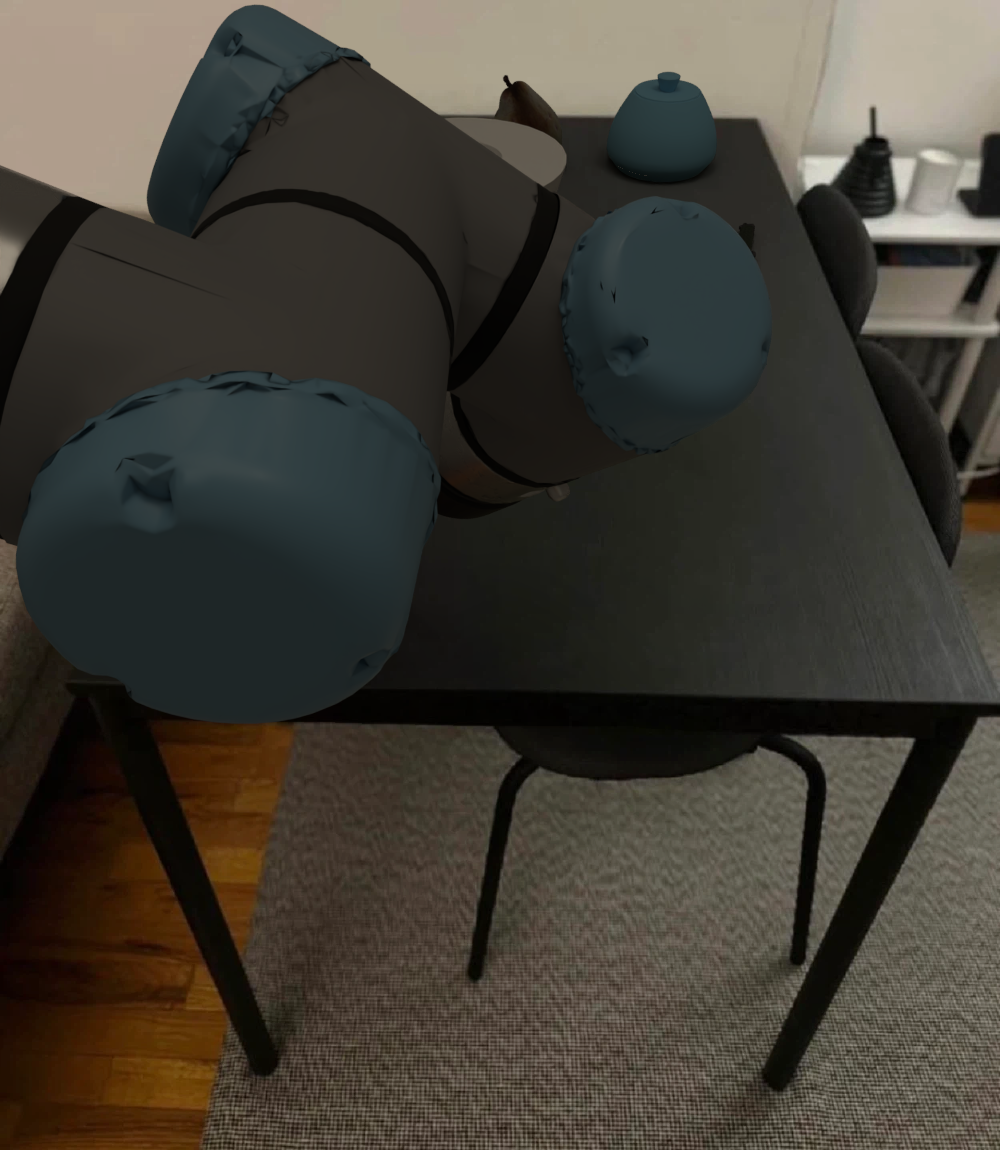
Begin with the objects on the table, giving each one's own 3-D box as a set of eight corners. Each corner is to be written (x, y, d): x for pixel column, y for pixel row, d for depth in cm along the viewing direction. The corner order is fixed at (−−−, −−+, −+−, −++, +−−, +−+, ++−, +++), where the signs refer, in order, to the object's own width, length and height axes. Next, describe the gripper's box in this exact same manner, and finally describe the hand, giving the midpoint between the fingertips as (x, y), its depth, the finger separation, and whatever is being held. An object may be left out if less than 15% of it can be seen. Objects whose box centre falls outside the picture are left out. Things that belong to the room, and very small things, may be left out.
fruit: (481, 160, 132) (478, 68, 124) (540, 148, 135) (542, 57, 127) (512, 187, 126) (512, 92, 117) (573, 175, 129) (578, 81, 120)
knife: (734, 220, 116) (759, 220, 115) (734, 227, 117) (759, 227, 116) (722, 295, 104) (750, 296, 103) (722, 302, 105) (749, 303, 104)
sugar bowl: (730, 179, 127) (745, 88, 119) (625, 191, 125) (633, 99, 116) (689, 138, 137) (701, 51, 129) (592, 148, 135) (597, 61, 127)
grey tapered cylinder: (572, 221, 119) (576, 122, 110) (550, 319, 102) (554, 211, 93) (387, 210, 121) (378, 113, 113) (337, 304, 105) (322, 198, 96)
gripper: (288, 630, 38) (204, 649, 56) (709, 398, 48) (520, 479, 67) (196, 462, 37) (142, 539, 56) (646, 264, 48) (473, 385, 66)
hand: (349, 506), depth 62 cm, fingers open, 13 cm apart
